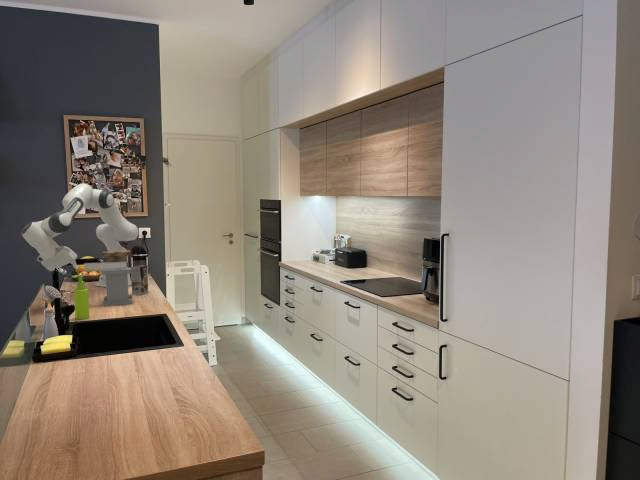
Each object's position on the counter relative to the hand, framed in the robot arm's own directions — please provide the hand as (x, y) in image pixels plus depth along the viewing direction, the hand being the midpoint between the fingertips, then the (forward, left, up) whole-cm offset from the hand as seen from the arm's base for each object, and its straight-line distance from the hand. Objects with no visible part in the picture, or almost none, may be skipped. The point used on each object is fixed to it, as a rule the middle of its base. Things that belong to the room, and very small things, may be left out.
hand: (71, 270), depth 253 cm
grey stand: (+16, +14, -18) cm, 28 cm away
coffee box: (+7, +39, -18) cm, 44 cm away
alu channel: (+12, +11, 0) cm, 16 cm away
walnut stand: (+8, +22, -18) cm, 30 cm away
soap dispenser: (+25, -16, -18) cm, 35 cm away
